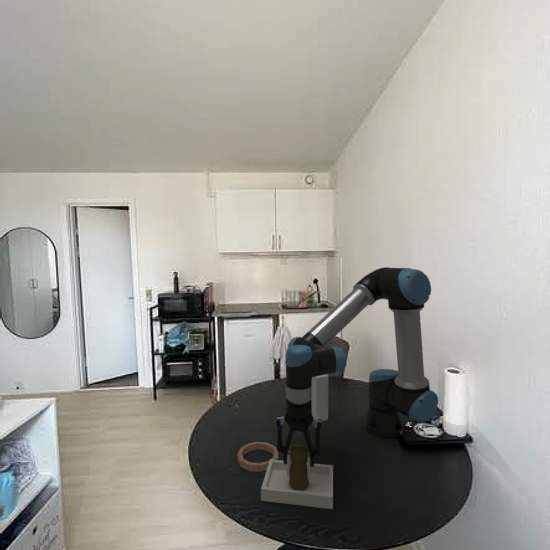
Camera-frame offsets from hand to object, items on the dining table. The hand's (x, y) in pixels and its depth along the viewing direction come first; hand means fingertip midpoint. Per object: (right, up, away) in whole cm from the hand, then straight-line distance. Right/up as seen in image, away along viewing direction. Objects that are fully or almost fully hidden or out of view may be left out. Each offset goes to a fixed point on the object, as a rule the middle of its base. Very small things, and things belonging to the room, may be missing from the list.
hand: (299, 474), depth 102 cm
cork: (0, -3, 0) cm, 3 cm away
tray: (0, -4, 0) cm, 4 cm away
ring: (-13, -3, +15) cm, 20 cm away
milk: (+11, -1, +43) cm, 44 cm away
